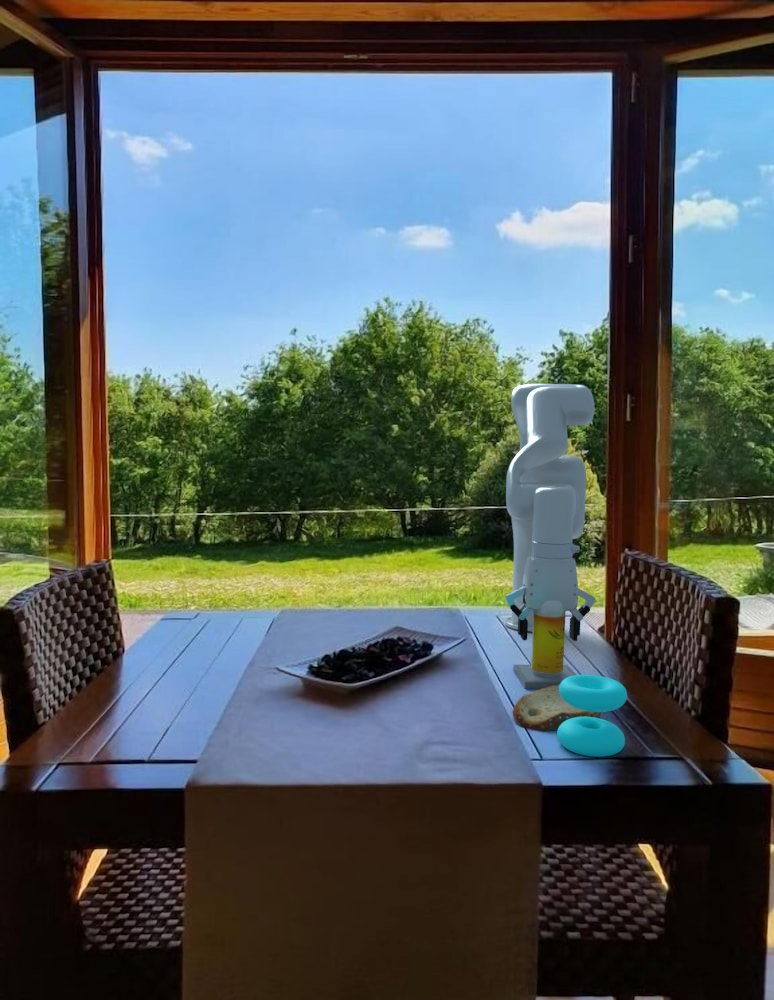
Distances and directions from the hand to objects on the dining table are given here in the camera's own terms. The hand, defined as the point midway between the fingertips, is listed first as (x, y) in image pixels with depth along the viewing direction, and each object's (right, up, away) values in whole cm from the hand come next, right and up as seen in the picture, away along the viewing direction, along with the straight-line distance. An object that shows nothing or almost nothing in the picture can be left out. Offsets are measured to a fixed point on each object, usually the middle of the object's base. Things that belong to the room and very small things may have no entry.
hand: (548, 638), depth 148 cm
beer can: (0, -7, +1) cm, 7 cm away
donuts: (0, -11, -31) cm, 33 cm away
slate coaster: (0, -8, +1) cm, 8 cm away
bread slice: (-2, -10, -16) cm, 19 cm away
